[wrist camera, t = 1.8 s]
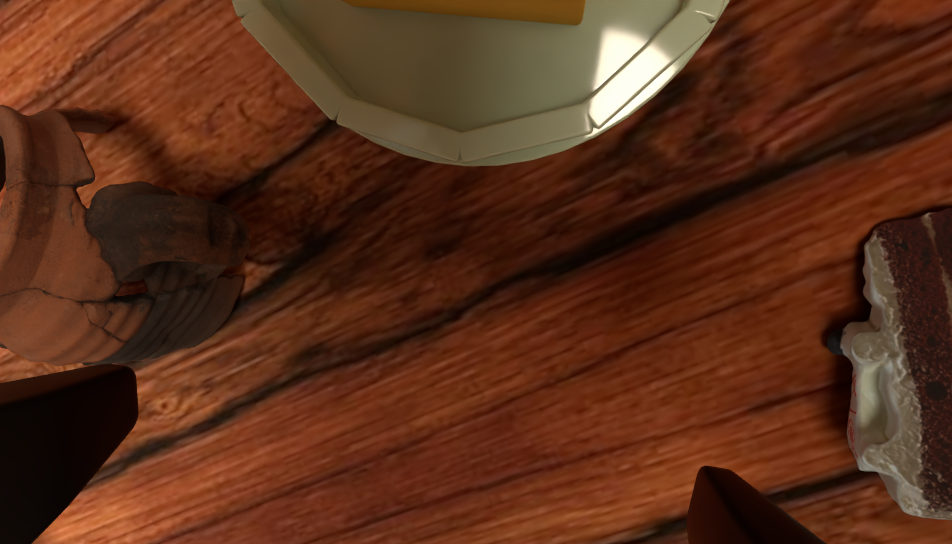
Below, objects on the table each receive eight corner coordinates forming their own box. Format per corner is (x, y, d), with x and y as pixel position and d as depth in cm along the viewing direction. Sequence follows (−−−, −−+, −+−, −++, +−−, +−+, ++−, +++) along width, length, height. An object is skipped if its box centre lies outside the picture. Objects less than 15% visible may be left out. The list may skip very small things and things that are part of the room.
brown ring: (122, 375, 26) (-131, 374, 19) (136, 179, 28) (-87, 111, 21) (324, 352, 21) (80, 338, 13) (324, 112, 23) (111, -11, 15)
